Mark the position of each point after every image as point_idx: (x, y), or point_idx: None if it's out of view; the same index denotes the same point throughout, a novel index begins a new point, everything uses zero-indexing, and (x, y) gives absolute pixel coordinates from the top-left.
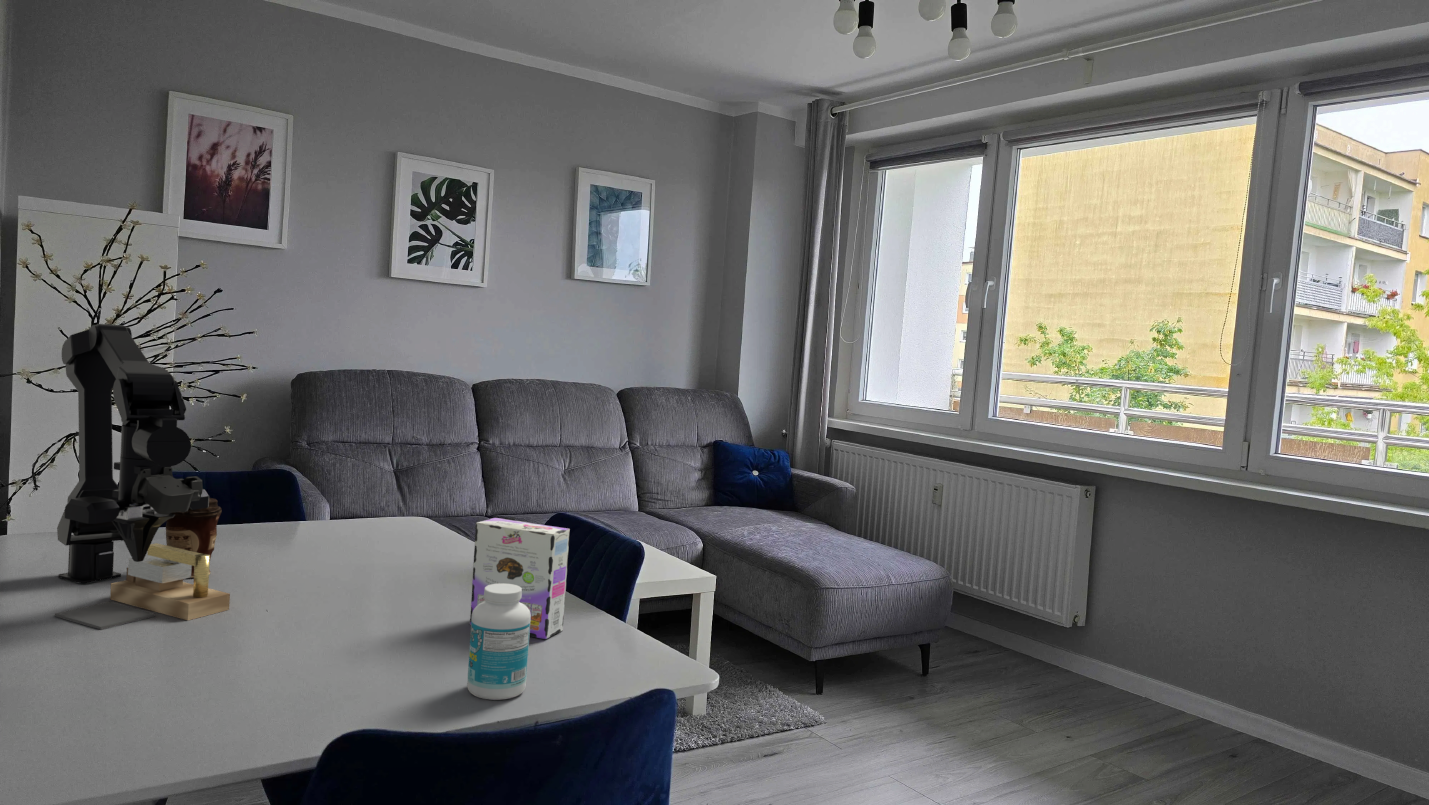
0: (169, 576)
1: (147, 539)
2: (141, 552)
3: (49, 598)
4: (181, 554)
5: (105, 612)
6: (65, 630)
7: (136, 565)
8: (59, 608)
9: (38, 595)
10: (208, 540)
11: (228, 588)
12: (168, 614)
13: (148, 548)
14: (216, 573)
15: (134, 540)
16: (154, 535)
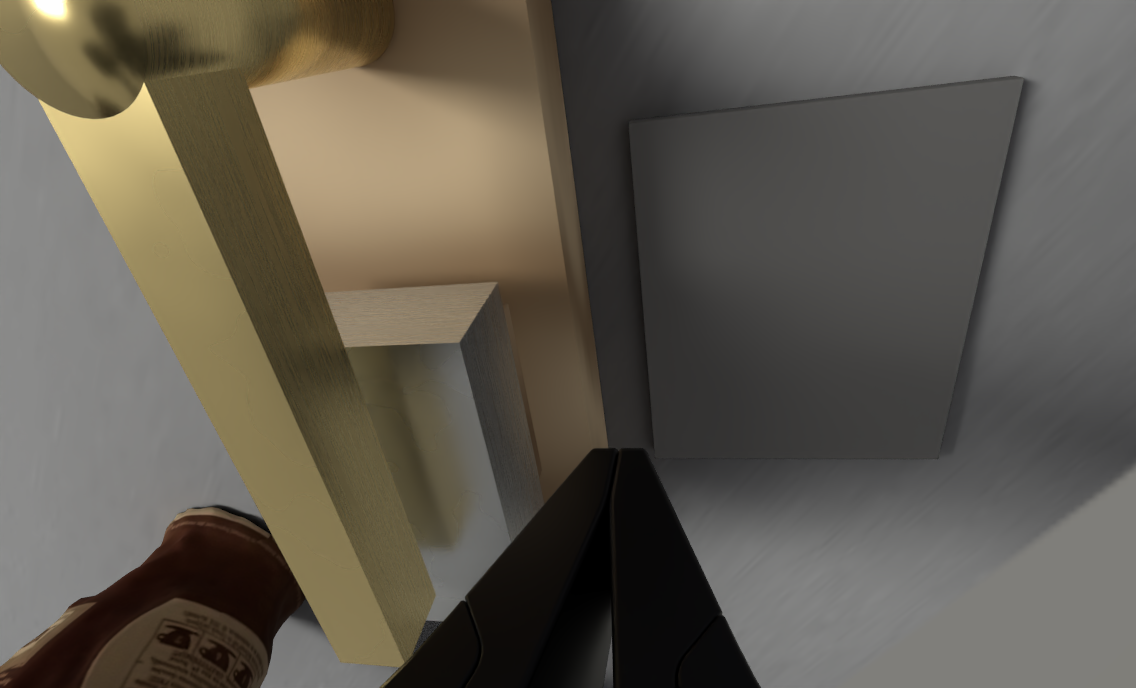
0: (431, 303)
1: (539, 611)
2: (617, 499)
3: (756, 627)
4: (266, 314)
5: (785, 325)
6: (1118, 215)
7: None
8: (827, 522)
9: (755, 667)
10: (53, 645)
11: (149, 322)
12: (561, 87)
13: (532, 520)
14: (152, 513)
15: (736, 646)
16: (426, 642)
